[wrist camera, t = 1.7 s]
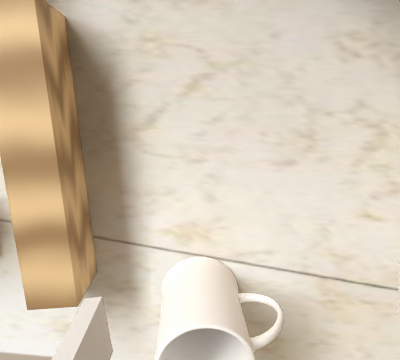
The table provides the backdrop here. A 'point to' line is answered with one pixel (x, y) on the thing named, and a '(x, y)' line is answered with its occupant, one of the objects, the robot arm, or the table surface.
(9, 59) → the plank
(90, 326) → the robot arm
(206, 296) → the mug
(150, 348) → the table surface
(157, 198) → the table surface
